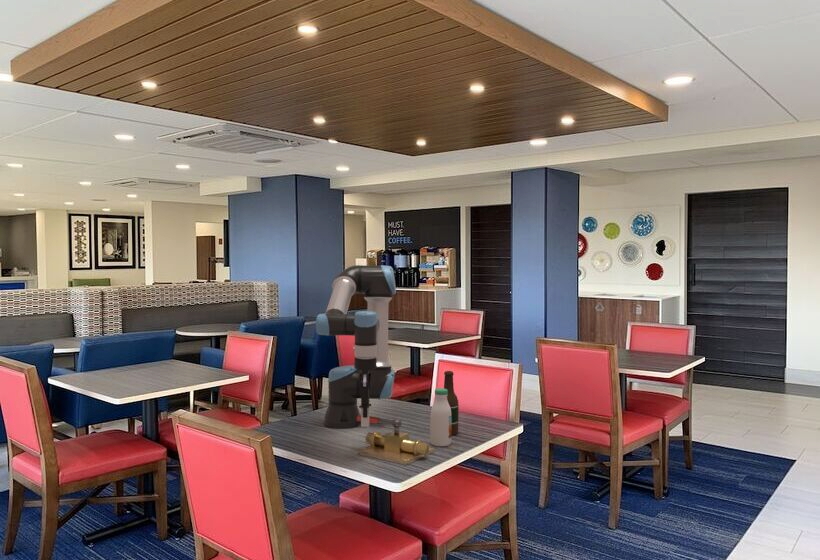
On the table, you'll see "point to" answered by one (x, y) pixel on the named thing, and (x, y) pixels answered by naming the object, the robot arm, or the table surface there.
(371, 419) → the lever
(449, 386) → the beer bottle
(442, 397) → the milk bottle
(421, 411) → the table surface
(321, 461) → the table surface
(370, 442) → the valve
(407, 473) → the table surface
